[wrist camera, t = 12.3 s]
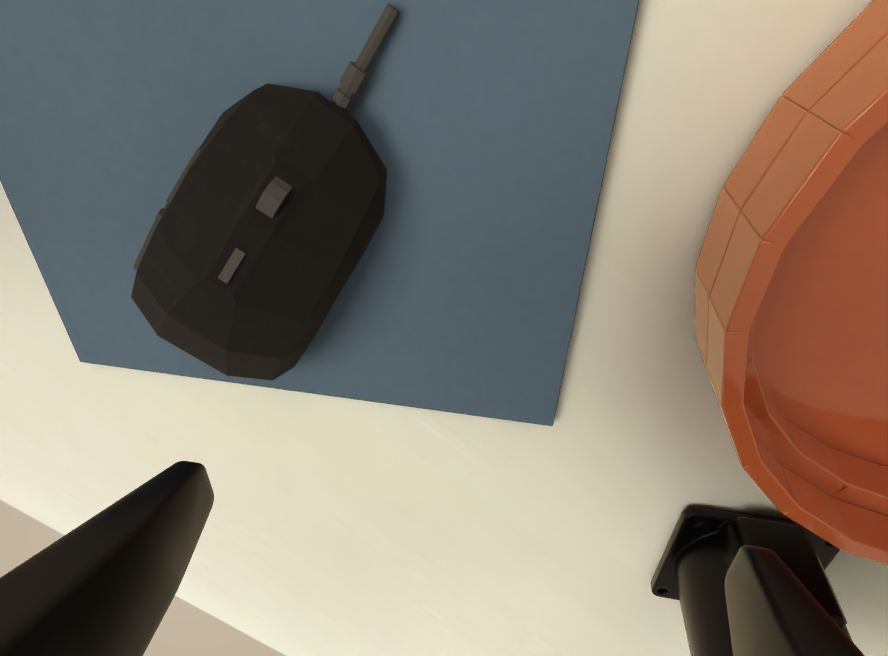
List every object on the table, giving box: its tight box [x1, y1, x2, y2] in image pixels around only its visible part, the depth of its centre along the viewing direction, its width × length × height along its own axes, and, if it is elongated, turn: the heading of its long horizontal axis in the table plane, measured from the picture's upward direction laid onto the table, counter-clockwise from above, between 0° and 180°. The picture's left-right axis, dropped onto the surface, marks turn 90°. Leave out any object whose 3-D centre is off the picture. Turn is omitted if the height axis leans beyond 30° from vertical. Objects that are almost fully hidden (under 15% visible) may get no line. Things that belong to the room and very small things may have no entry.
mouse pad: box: [0, 0, 639, 426], centre depth 18 cm, size 18×21×1 cm
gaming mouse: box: [131, 3, 400, 381], centre depth 17 cm, size 6×15×4 cm, turn 146°
